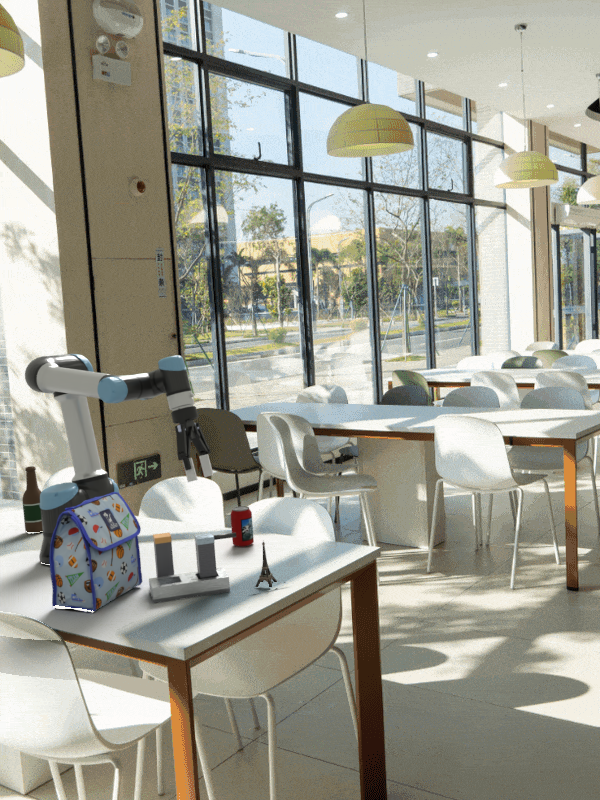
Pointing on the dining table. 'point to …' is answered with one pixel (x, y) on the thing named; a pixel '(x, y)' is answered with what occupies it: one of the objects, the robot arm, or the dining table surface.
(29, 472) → the beer bottle
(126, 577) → the lunch bag
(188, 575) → the pdu strip
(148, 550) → the dining table surface
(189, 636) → the dining table surface
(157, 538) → the plug
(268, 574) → the eiffel tower figurine
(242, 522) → the beverage can
